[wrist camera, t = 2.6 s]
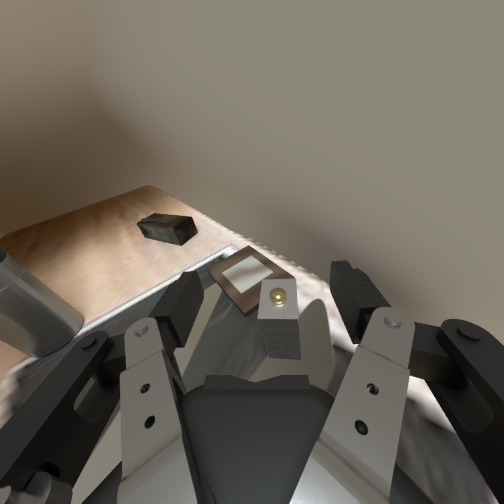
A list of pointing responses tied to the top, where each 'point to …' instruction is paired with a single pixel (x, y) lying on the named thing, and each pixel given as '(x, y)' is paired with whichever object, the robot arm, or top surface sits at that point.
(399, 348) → the robot arm
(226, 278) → the mount plate
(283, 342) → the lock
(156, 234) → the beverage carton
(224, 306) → the top surface
